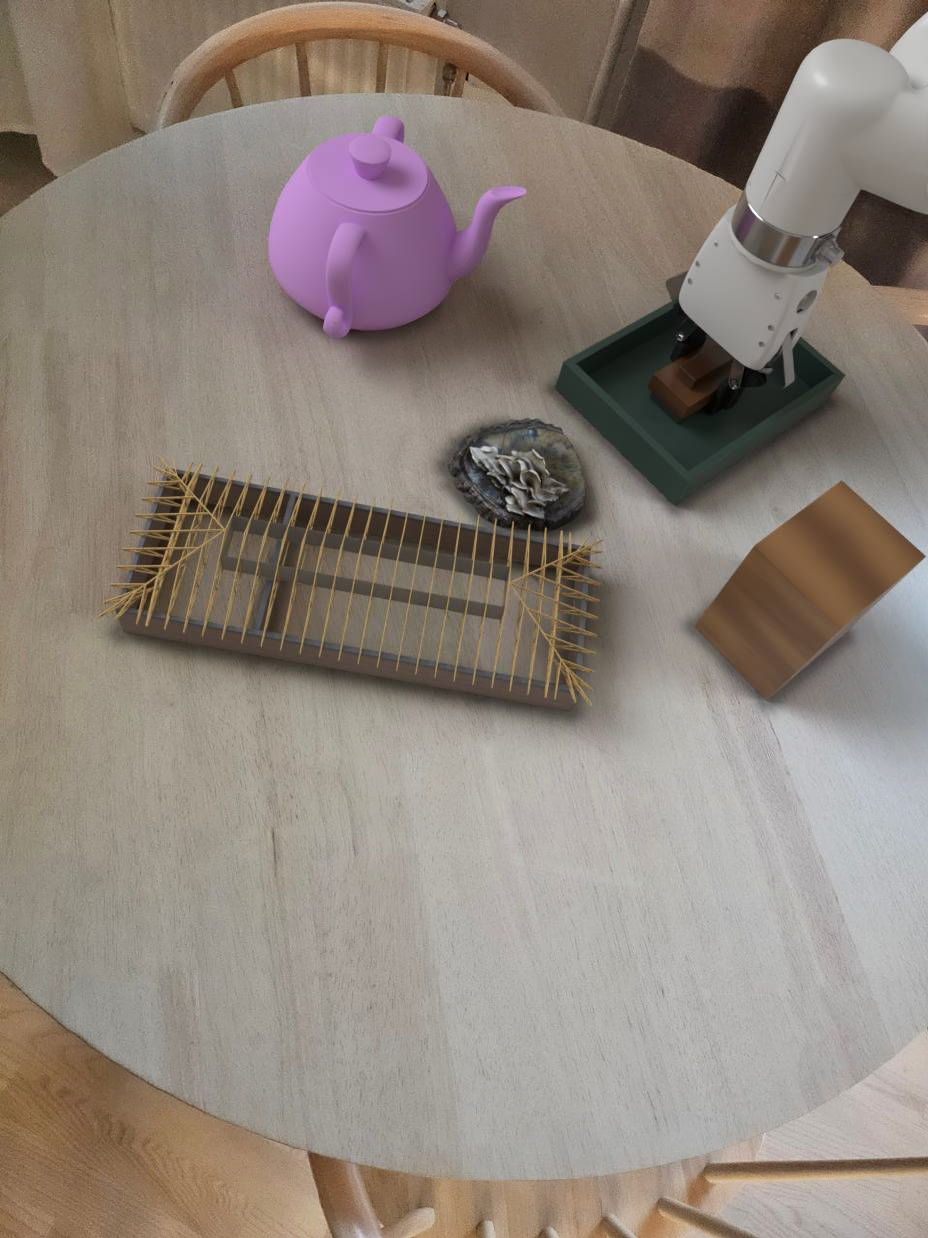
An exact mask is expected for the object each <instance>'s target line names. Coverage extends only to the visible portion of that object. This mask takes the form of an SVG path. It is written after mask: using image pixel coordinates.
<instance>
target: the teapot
mask: <svg viewBox="0 0 928 1238" xmlns="http://www.w3.org/2000/svg"><path fill="white" fill-rule="evenodd" d="M404 141H405V124H404V122H403V121H402V120H401V119H399V118H398V117H395V116H393V115H382V116H380V117H379V118H378V119H377V120H376V122H375V124H374V126H373V129H372V131H371V132H350V133H344V134H340V135H336V136H334V137H331V138H329V139H327V140H325V141H322V143H320V144H318V145H317V147H315V148H314V149H313V150H312V151H311V152H310V153H309V154H308V155H307V156H306V158H304V160H303V161H302V162H301V163H300V165H299V166H298V167H297V169H295V171H294V173H293V174H292V175H291V177H290V178H289V180H287V182H286V184H285V186H284V188H283V189H282V191H281V192H280V195H279V197H278V200H277V201H276V205H275V208H274V211H273V214H272V218H271V222H270V226H269V232H268V240H267V241H268V260H269V264H270V268H271V270H272V273H273V274H274V276H275V279H276V280H277V282H278V284H279V285H280V287H281V288H282V290H283V291H284V292H285V293H286V294H287V295H288V296H289V297H290V298H291V299H292V300H294V302H295V303H296V304H298V305H299V306H300V307H301V308H303V309H305V310H306V311H308V312H309V313H310V314H312V315H314V316H316V317H318V318H319V319H321V320H323V327H322V329H323V332H324V333H325V335H327V336H328V337H330V338H332V339H342V338H344V337H345V336H347V335H348V333H350V330H358V331H366V332H367V331H383V330H384V331H385V330H391V329H395V328H398V327H401V326H404V325H407V324H409V323H412V322H414V321H416V320H418V319H420V318H422V317H424V316H425V315H427V314H429V313H430V312H432V311H433V310H434V309H435V308H437V307H438V306H439V305H440V304H441V302H442V301H443V300H444V299H445V298H446V297H447V295H448V294H449V292H450V290H451V289H452V288H453V285H454V283H455V281H456V280H458V279H461V278H464V277H466V276H468V275H469V274H470V273H472V272H473V271H474V270H475V269H476V268H477V267H478V266H479V265H480V263H481V262H482V260H483V259H484V256H485V254H486V253H487V250H488V247H489V244H490V240H491V234H492V231H493V227H494V223H495V221H496V219H497V216H498V214H499V213H500V210H501V209H503V208H504V207H505V206H506V205H507V204H510V203H511V202H513V201H515V200H517V199H520V198H522V197H523V196H526V194H527V190H526V188H524V187H521V186H516V185H503V186H497V187H493V188H491V189H489V190H488V191H486V192H485V193H484V194H482V196H481V197H480V199H479V200H478V202H477V204H476V207H475V209H474V213H473V217H472V220H471V223H470V225H469V226H468V227H466V228H465V229H461V230H458V231H457V227H456V223H455V218H454V216H453V211H452V210H451V207H450V203H449V202H448V200H447V198H446V195H445V193H444V191H443V190H442V187H441V185H440V184H439V182H438V181H437V179H436V177H435V175H434V174H433V172H432V170H431V169H430V167H429V166H428V165H427V163H426V162H425V161H424V159H423V158H422V157H421V156H420V155H419V154H418V153H417V152H416V151H415V150H414V149H413V148H411V147H410V146H408V145H406V144H405V143H404Z"/></svg>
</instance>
